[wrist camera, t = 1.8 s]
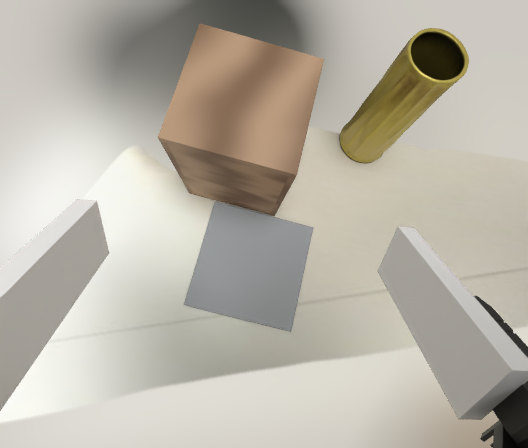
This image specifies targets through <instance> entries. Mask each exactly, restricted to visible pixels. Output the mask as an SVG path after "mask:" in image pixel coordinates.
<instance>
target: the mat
mask: <svg viewBox="0 0 528 448" xmlns="http://www.w3.org/2000/svg"><path fill="white" fill-rule="evenodd" d="M312 231H313V227H309V226H306V225H302V224H298V223H294V222H291V221H287V220H283V219H279V218H275V217H272V216H268V215H264V214H260V213H256V212H253V211H249V210H245V209H241V208H238V207H234V206H230V205H226V204H222V203H219V202H215V203H214V206H213V210H212V213H211V216H210V220H209V223H208V226H207V230H206V233H205V236H204V240H203V243H202V246H201V250H200V253H199V256H198V260H197V263H196V266H195V270H194V273H193V276H192V280H191V283H190V286H189V290H188V293H187V296H186V299H185V303H184V305H186V306H190V307H194V308H198V309H202V310H206V311H210V312H214V313H218V314H222V315H226V316H230V317H234V318H238V319H242V320H246V321H250V322H254V323H258V324H262V325H266V326H270V327H274V328H278V329H282V330H286V331H290V332H291V329H292V325H293V320H294V315H295V311H296V306H297V301H298V297H299V292H300V287H301V283H302V278H303V273H304V269H305V264H306V259H307V255H308V250H309V245H310V240H311V236H312Z"/></svg>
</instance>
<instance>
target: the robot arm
mask: <svg viewBox="0 0 528 448" xmlns="http://www.w3.org/2000/svg"><path fill="white" fill-rule="evenodd" d="M108 254H109V250H108V246H107V242H106V238H105V233H104V229H103V225H102V221H101V216H100V212H99V208H98V204H97V201H92V200H80V199H77V200H76V201H75V202H74V203H72V204H71V205H70V206H69V207H68V208H67V209H66V210H65V211H63V212H62V213H61V214H60V215H59V216H58V217H57V218H55V219H54V221H52V222H51V223H50V224H49V225H48V226H46V227H45V228H44V229H43V230H42V231H41V232H40V233H39V234H37V235H36V236H35V237H34V238H33V239H32V240H31V241H30V242H28V243H27V244H26V245H25V246H24V247H23V248H22V249H20V250H19V251H18V252H17V253H16V254H15V255H14V256H13V257H12V258H10V259H9V260H8V261H7V262H6V263H5V264H3V266H1V267H0V411H1V409H2V408H3V406H4V405H5V403H6V402H7V400H8V399H9V397H10V396H11V395H12V393H13V392H14V390H15V389H16V387H17V386H18V384H19V383H20V382H21V380H22V379H23V377H24V376H25V374H26V373H27V371H28V370H29V368H30V367H31V366H32V364H33V363H34V361H35V360H36V358H37V357H38V355H39V354H40V352H41V351H42V350H43V348H44V347H45V345H46V344H47V342H48V341H49V339H50V338H51V336H52V335H53V334H54V332H55V331H56V329H57V328H58V326H59V325H60V323H61V322H62V321H63V319H64V318H65V316H66V315H67V313H68V312H69V310H70V309H71V307H72V306H73V305H74V303H75V302H76V300H77V299H78V297H79V296H80V294H81V293H82V291H83V290H84V289H85V287H86V286H87V284H88V283H89V281H90V280H91V278H92V277H93V275H94V274H95V273H96V271H97V270H98V268H99V267H100V265H101V264H102V262H103V261H104V259H105V258H106V257H107V255H108ZM378 273H379V275H380V276H381V278H382V280H383V282H384V284H385V286H386V287H387V289H388V291H389V293H390V295H391V297H392V298H393V300H394V302H395V304H396V306H397V308H398V309H399V311H400V313H401V315H402V317H403V319H404V320H405V322H406V324H407V326H408V328H409V330H410V331H411V333H412V335H413V337H414V339H415V340H416V342H417V344H418V346H419V348H420V349H421V351H422V353H423V355H424V357H425V359H426V361H427V362H428V364H429V366H430V368H431V370H432V371H433V373H434V375H435V377H436V379H437V381H438V383H439V384H440V386H441V388H442V390H443V392H444V394H445V395H446V397H447V399H448V401H449V403H450V404H451V406H452V408H453V410H454V412H455V414H456V415H457V417H458V419H475V420H478V419H479V420H481V419H483V418H484V417H485V416H486V415H487V414H489V413H490V412H491V411H492V410H493V411H494V412H495V414H496V416H497V417H498V418H499V421H498V422H496V423H495V424H494V425H493V426H491V427H490V428H489V429H487V430H486V431H485V432H484V433H482V436H481V438H480V439H481V440H483V441H486V440H487V439H489V438H490V437H491V436H494V440H493V441H494V442H493V443H492V444H491V447H493V448H528V347H527V346H526V344H525V343H523V341H522V340H521V339H520V338H519V337H518V336H517V335H516V334H514V333H513V330H512V329H511V328H510V327H509V326H508V325H507V323H504V322H503V321H504V320H503V319H502V318H501V317H500V316H499V315H498V313H497V312H496V311H495V310H494V309H493V308H492V307H491V306H489V305H488V304H487V303H485V302H484V301H483V300H481V299H480V298H479V297H477V296H473V295H472V294H471V293H470V291H469V290H468V289H467V288H466V287H465V286H464V285H463V283H462V282H461V281H460V280H459V279H458V278H457V276H456V275H455V274H454V273H453V272H452V271H451V270H450V268H449V267H448V266H447V265H446V264H445V263H444V262H443V260H442V259H441V258H440V257H439V256H438V255H437V254H436V252H435V251H434V250H433V249H432V248H431V247H430V246H429V244H428V243H427V242H426V241H425V240H424V239H423V238H422V236H421V235H420V234H419V233H418V232H417V231H416V230H415V228H410V227H399V226H398V228H397V230H396V232H395V235H394V237H393V239H392V241H391V243H390V245H389V248H388V250H387V252H386V254H385V256H384V259H383V261H382V263H381V265H380V267H379V269H378Z"/></svg>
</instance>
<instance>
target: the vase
mask: <svg viewBox="0 0 528 448" xmlns="http://www.w3.org/2000/svg"><path fill="white" fill-rule="evenodd" d="M468 64H469V58H468V54H467V52H466V49H465V48H464V46H463V44H462V43H461V42H460V41H459V40H458V39H457V38H456V37H455V36H454V35H453V34H451V33H449V32H447V31H445V30H442V29H435V28H428V29H424V30H421V31H419V32H418V33H417V34H416V35H414V36H413V37H412V38H411V39H410V40H409V41H408V43H407V44H406V46H405V47H404V48H403V50H402V51H401V53H400V54H399V55H398V56H397V58H396V59H395V61H394V62H393V63H392V65H391V66H390V67H389V69H388V70H387V72H386V73H385V75H384V76H383V78H382V79H381V81H380V82H379V83H378V84H377V86H376V87H375V88H374V89H373V91H372V92H371V93H370V95H369V96H368V97H367V99H366V100H365V101H364V103H363V104H362V105H361V107H360V108H359V110H358V111H357V113H356V114H355V115H354V116H353V118H352V119H351V120H350V122H348V123H347V124H346V125H345V126H344V127H343V129H342V131H341V134H340V143H341V147H342V149H343V150H344V152H345V153H346V154H347V155H348V156H349V157H350V158H351V159H353V160H355V161H358V162H362V163H368V162H372V161H375V160H377V159H378V158H379V157H381V155H382V154H383V152H384V151H385V150H387V149H388V148H389V147H390V146H391V145H392V144H393V143H394V142H395V141H396V140H397V139H398V138H399V137H400V136H401V135H402V134H403V133H404V132H405V131H406V130H407V129H408V128H409V127H410V126H411V125H412V124H413V123H414V122H415V121H416V120H417V119H418V118H419V117H420V116H421V115H422V114H423V113H424V112H425V111H426V110H427V109H428V108H429V107H430V106H431V105H432V104H433V103H434V102H435V101H436V100H437V99H438V98H439V97H440V96H441V95H442V94H443V93H444V92H445V91H447V90H448V89H449V88H450V87H451V86H452V85H453V84H454V83H456V82H457V81H458V80H459V79H460V78H462V76H464V74H465V73H466V71H467V68H468Z"/></svg>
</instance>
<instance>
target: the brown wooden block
mask: <svg viewBox="0 0 528 448" xmlns="http://www.w3.org/2000/svg"><path fill="white" fill-rule="evenodd" d="M323 62H324V59H322V58H319V57H315V56H312V55H308V54H305V53H301V52H298V51H294V50H291V49H287V48H284V47H280V46H277V45H273V44H270V43H266V42H263V41H260V40H256V39H252V38H249V37H245V36H242V35H238V34H235V33H232V32H228V31H225V30H221V29H218V28H214V27H211V26H207V25H204V24H200V25H199V27H198V30H197V33H196V35H195V38H194V41H193V43H192V46H191V49H190V52H189V54H188V57H187V60H186V62H185V65H184V68H183V71H182V73H181V76H180V79H179V81H178V84H177V87H176V90H175V92H174V95H173V98H172V100H171V103H170V106H169V109H168V112H167V114H166V117H165V120H164V122H163V125H162V128H161V130H160V133H159V136H158V138H159V140H160V142H161V144H162V145H163V147H164V149H165V151H166V152H167V154H168V156H169V158H170V160H171V161H172V163H173V165H174V166H175V168H176V170H177V172H178V174H179V175H180V177H181V179H182V181H183V182H184V184H185V186H186V188H187V189H188V191H189V193H191V194H195V195H198V196H202V197H206V198H210V199H214V200H217V201H221V202H225V203H229V204H232V205H236V206H240V207H244V208H248V209H251V210H255V211H259V212H263V213H266V214H270V215H275V214H276V212H277V210H278V208H279V206H280V204H281V203H282V201H283V199H284V197H285V195H286V194H287V192H288V190H289V188H290V186H291V184H292V183H293V181H294V179H295V177H296V175H297V171H298V167H299V163H300V159H301V155H302V150H303V146H304V142H305V138H306V133H307V129H308V125H309V120H310V117H311V112H312V108H313V104H314V100H315V96H316V91H317V87H318V83H319V79H320V74H321V70H322V66H323Z"/></svg>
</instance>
